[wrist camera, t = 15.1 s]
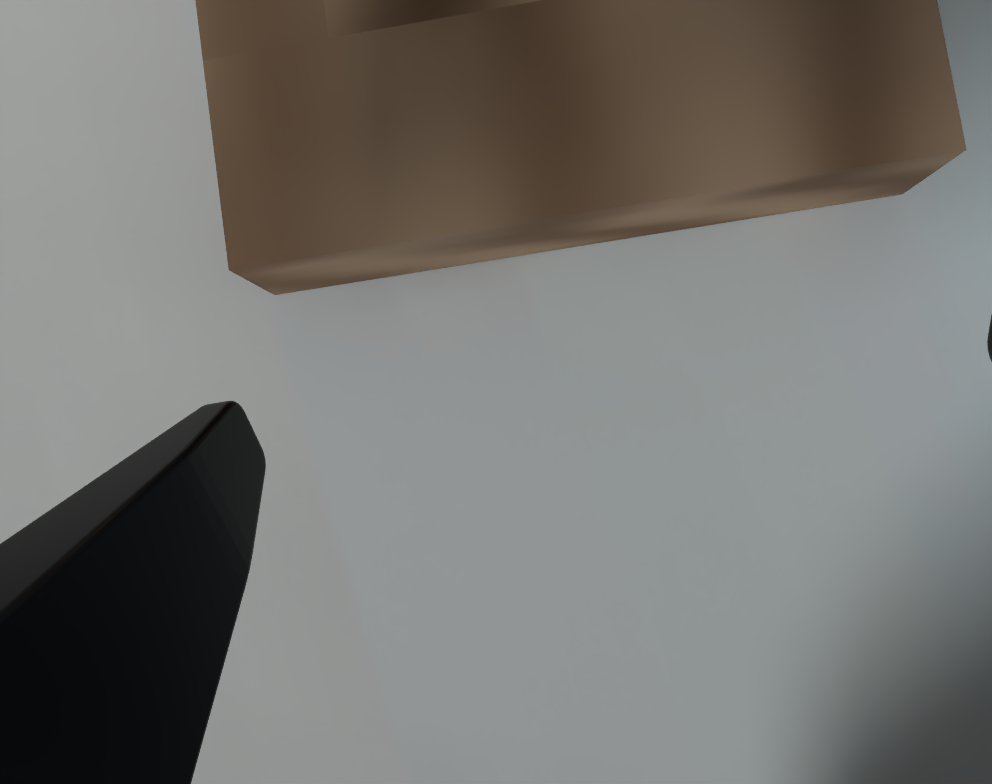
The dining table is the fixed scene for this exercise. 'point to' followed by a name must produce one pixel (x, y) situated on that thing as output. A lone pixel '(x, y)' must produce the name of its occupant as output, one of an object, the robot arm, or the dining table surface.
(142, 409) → the dining table surface
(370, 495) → the dining table surface
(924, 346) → the dining table surface
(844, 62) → the keyhole board
